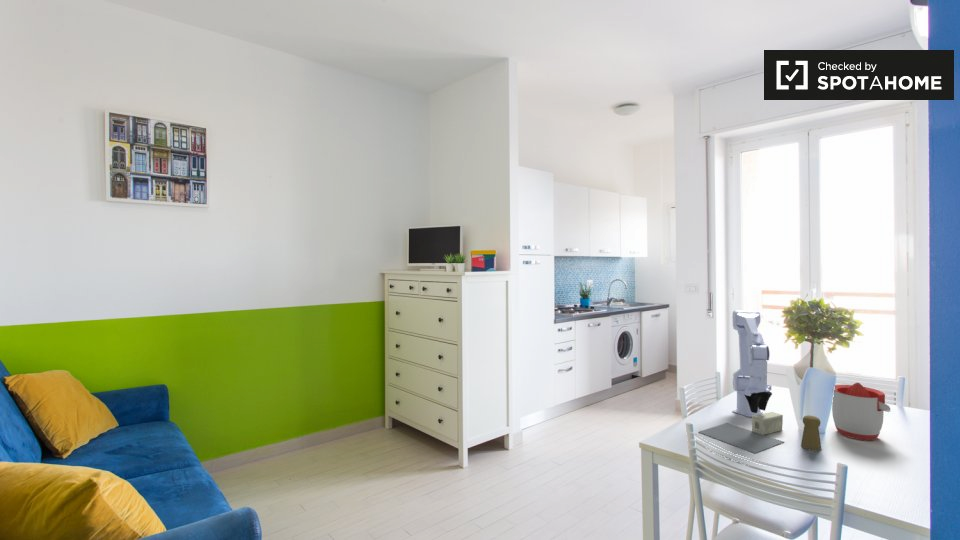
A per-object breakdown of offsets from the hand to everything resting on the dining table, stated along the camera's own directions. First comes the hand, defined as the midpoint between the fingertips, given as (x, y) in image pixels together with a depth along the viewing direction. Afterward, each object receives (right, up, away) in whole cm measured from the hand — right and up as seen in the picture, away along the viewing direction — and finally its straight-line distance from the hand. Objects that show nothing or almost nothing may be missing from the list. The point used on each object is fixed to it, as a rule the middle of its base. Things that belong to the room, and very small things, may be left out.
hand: (758, 411), depth 182 cm
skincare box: (-2, -5, -3) cm, 6 cm away
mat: (-10, -8, -5) cm, 14 cm away
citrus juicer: (+35, -8, -5) cm, 36 cm away
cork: (+10, -9, -14) cm, 20 cm away
